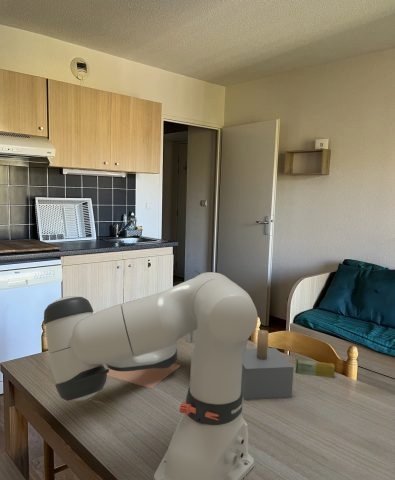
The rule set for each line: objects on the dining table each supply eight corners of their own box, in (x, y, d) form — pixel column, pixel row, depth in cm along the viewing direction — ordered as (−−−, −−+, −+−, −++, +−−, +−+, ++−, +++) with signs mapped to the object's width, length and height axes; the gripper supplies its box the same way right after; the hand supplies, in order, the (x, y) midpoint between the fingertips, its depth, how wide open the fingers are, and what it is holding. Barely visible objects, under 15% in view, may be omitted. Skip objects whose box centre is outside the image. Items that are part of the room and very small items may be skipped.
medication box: (295, 373, 128) (296, 362, 127) (295, 370, 130) (295, 358, 130) (334, 378, 125) (335, 366, 125) (333, 374, 128) (334, 363, 127)
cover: (244, 399, 109) (247, 340, 108) (231, 376, 123) (233, 324, 121) (291, 397, 112) (295, 339, 110) (273, 375, 126) (277, 323, 124)
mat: (151, 389, 113) (151, 388, 113) (101, 375, 121) (101, 373, 121) (180, 366, 129) (181, 365, 129) (135, 355, 137) (135, 354, 137)
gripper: (211, 325, 135) (249, 333, 129) (183, 344, 117) (226, 354, 111) (212, 307, 134) (251, 314, 128) (184, 323, 116) (227, 332, 110)
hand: (239, 333), depth 119 cm, fingers open, 8 cm apart
